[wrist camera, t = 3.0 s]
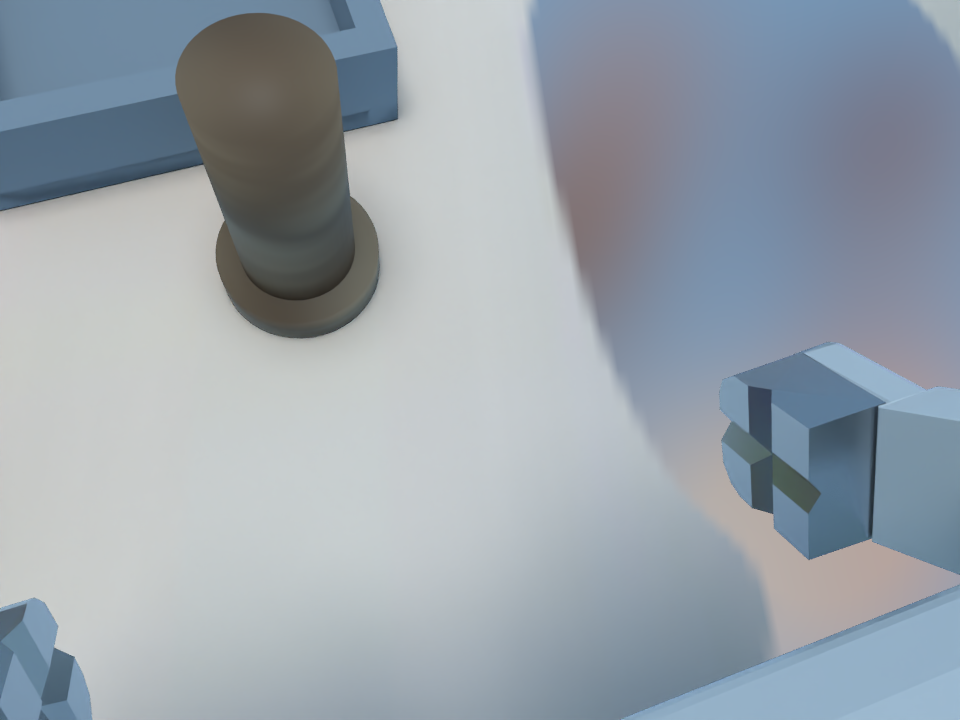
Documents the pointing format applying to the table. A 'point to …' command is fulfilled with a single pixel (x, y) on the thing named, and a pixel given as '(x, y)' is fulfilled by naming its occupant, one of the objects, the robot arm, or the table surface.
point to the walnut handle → (278, 174)
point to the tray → (145, 84)
